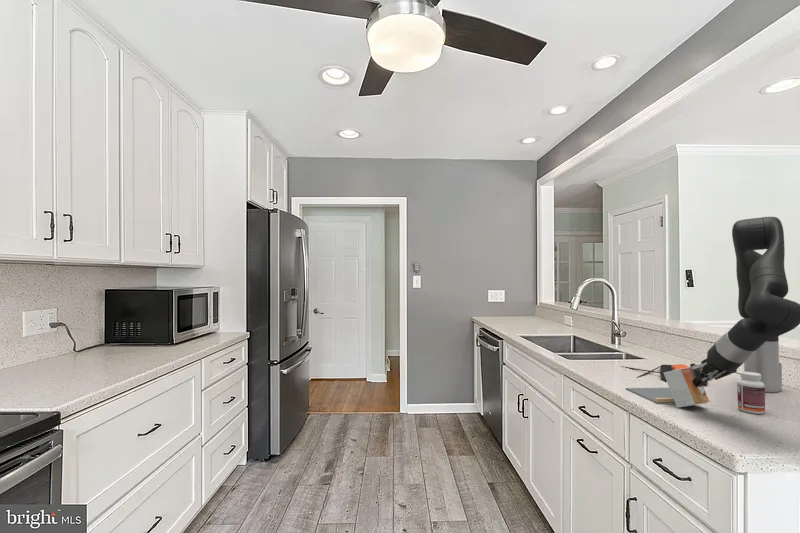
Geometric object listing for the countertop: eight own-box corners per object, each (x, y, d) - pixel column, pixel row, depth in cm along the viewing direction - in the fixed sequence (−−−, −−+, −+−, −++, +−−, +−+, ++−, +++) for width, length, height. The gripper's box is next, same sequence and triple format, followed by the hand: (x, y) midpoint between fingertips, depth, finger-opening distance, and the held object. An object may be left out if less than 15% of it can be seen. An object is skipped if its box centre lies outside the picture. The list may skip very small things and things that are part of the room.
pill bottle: (771, 413, 119) (770, 375, 119) (754, 415, 117) (753, 376, 118) (748, 407, 125) (748, 370, 125) (732, 408, 124) (731, 371, 124)
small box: (695, 405, 119) (680, 368, 123) (676, 408, 124) (662, 372, 128) (710, 401, 123) (695, 366, 127) (691, 404, 128) (677, 369, 131)
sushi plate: (709, 388, 147) (709, 377, 147) (614, 377, 163) (614, 367, 163) (701, 372, 172) (701, 363, 172) (620, 364, 188) (620, 355, 188)
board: (669, 388, 145) (669, 384, 145) (706, 402, 129) (706, 398, 129) (625, 389, 144) (625, 385, 144) (657, 403, 128) (657, 399, 128)
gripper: (746, 338, 114) (710, 372, 126) (700, 339, 113) (668, 373, 125) (764, 362, 108) (725, 395, 120) (716, 362, 108) (681, 396, 120)
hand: (696, 384), depth 123 cm, fingers closed
